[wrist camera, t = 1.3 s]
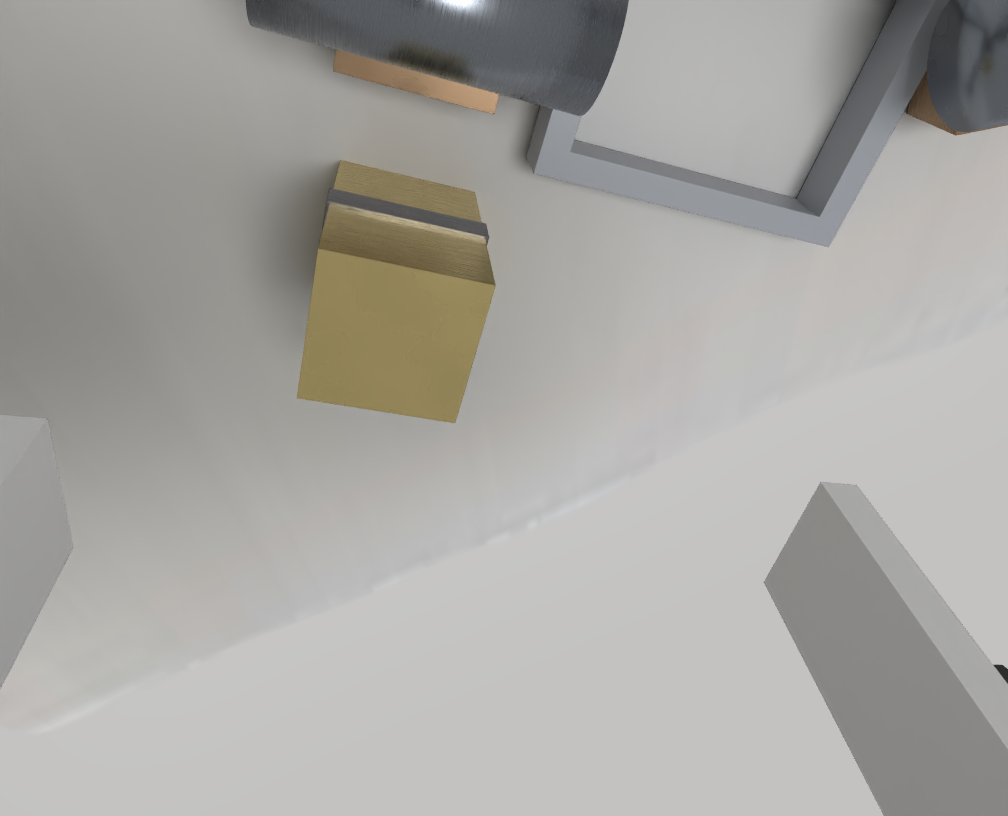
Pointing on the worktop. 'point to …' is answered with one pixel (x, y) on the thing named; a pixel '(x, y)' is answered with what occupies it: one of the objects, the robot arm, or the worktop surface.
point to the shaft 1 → (463, 45)
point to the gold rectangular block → (396, 295)
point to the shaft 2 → (966, 69)
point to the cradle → (805, 218)
